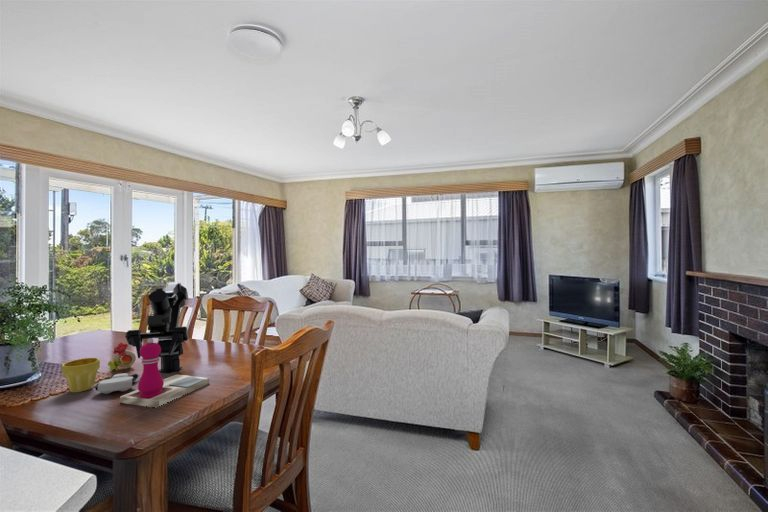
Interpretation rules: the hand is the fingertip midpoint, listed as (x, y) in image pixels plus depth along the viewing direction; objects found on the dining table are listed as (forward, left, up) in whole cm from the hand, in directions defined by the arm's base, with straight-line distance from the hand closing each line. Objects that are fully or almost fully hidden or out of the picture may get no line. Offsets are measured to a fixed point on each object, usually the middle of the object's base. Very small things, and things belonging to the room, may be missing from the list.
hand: (154, 356), depth 127 cm
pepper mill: (+3, -4, -13) cm, 14 cm away
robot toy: (-16, 0, -13) cm, 21 cm away
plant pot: (-28, -4, -13) cm, 32 cm away
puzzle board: (+4, +2, -13) cm, 13 cm away
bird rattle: (-36, +17, -13) cm, 42 cm away
